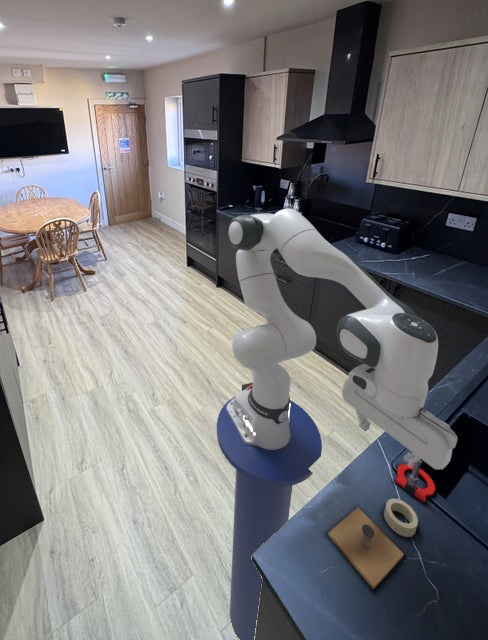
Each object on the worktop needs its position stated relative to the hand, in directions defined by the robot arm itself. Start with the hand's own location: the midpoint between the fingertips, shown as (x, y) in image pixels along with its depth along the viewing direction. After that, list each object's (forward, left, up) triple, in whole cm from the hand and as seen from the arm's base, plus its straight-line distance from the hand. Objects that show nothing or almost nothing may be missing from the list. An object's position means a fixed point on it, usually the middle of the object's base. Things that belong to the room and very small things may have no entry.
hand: (384, 444), depth 68 cm
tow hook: (0, +22, -27) cm, 35 cm away
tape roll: (+3, +9, -27) cm, 28 cm away
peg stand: (+2, -3, -27) cm, 27 cm away
